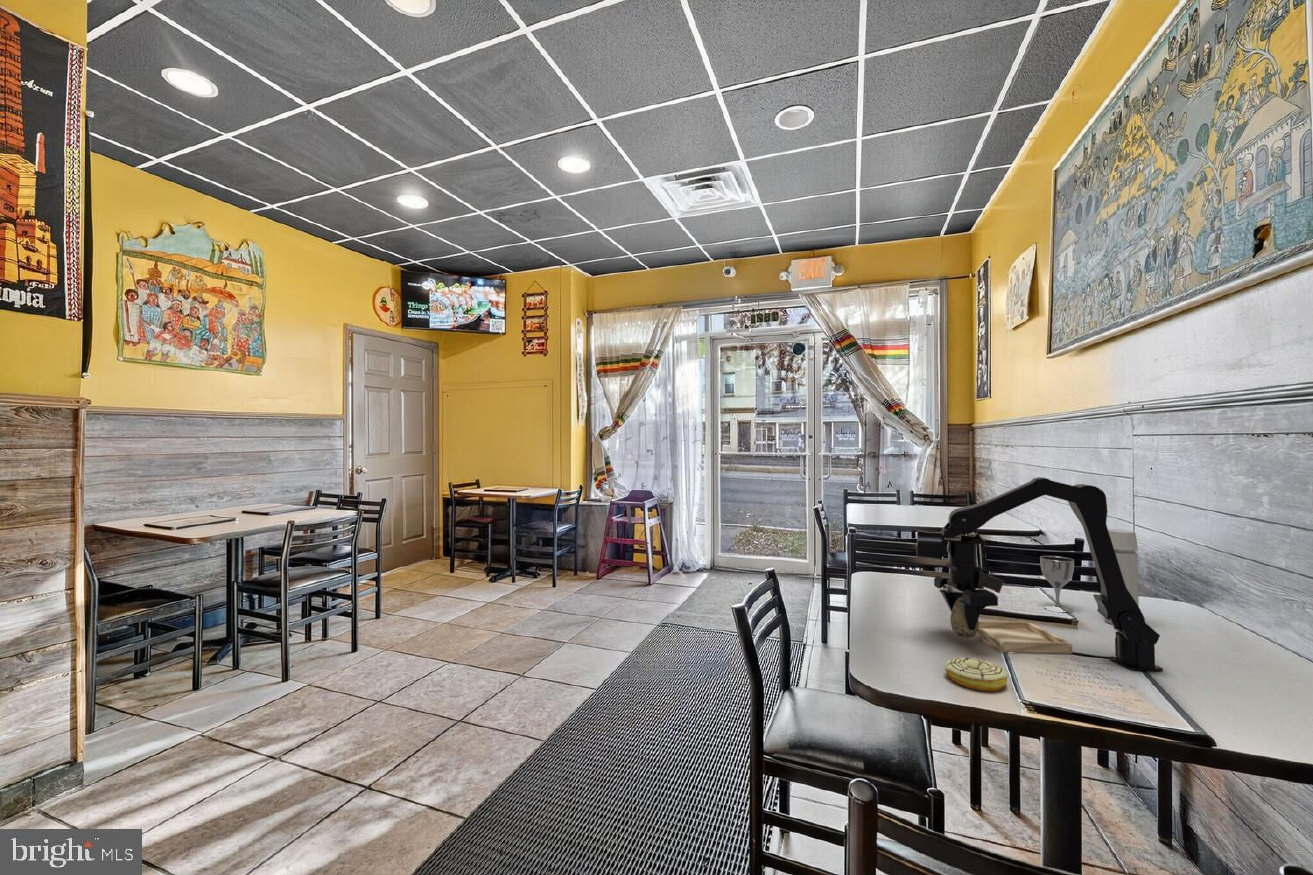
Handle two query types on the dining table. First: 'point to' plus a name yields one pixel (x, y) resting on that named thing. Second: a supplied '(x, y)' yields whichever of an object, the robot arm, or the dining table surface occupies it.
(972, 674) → the decorated donut
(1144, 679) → the dining table surface
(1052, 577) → the wine glass
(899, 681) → the dining table surface
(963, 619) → the decorative egg
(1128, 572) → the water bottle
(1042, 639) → the wooden tray
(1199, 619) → the dining table surface
